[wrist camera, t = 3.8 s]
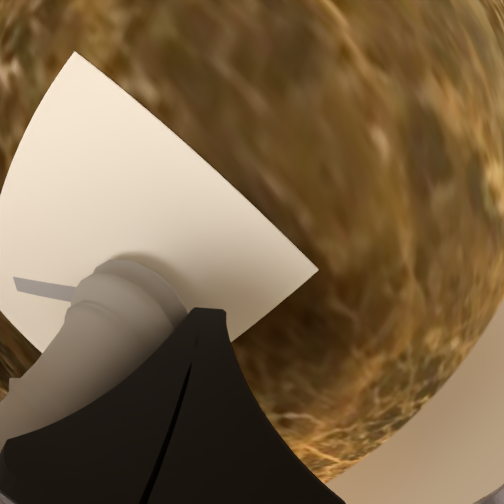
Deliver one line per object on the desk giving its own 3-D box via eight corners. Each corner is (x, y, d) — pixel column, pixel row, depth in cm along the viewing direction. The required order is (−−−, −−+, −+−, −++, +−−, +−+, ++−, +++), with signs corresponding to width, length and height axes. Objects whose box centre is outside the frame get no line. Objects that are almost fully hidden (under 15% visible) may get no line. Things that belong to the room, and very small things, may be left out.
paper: (127, 414, 13) (127, 415, 13) (-17, 287, 10) (-18, 288, 9) (317, 268, 9) (318, 270, 9) (76, 52, 6) (74, 51, 6)
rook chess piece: (219, 303, 8) (85, 556, 1) (174, 372, 10) (87, 531, 3) (108, 228, 8) (-90, 370, 1) (89, 312, 10) (-27, 435, 3)
